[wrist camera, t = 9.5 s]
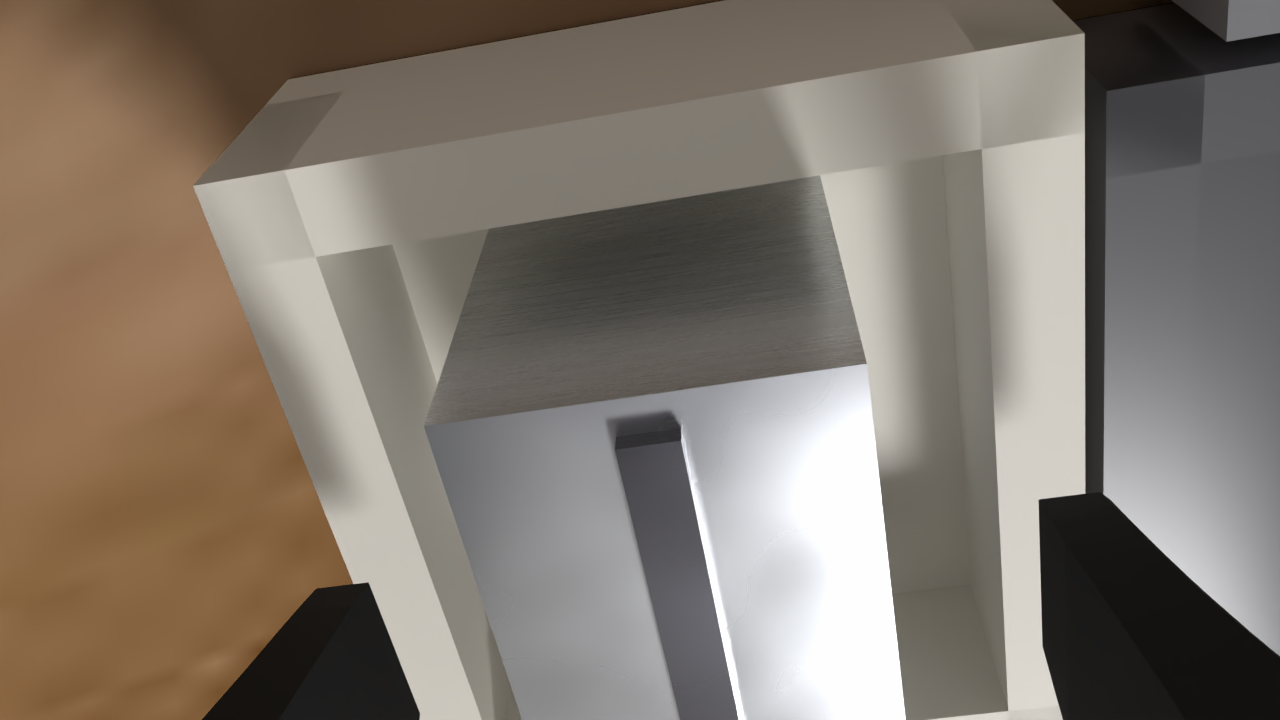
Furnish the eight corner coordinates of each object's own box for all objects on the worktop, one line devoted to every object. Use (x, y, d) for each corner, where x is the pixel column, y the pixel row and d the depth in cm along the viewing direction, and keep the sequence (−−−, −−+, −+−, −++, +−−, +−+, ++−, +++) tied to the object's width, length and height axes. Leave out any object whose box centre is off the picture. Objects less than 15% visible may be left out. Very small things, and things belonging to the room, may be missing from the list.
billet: (813, 151, 15) (869, 375, 10) (860, 532, 18) (919, 833, 13) (496, 203, 15) (419, 439, 11) (594, 566, 18) (565, 866, 14)
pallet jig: (1038, 984, 25) (1086, 1168, 22) (611, 1017, 26) (601, 1197, 23) (1000, -50, 14) (1085, 32, 11) (287, 79, 16) (193, 185, 13)
